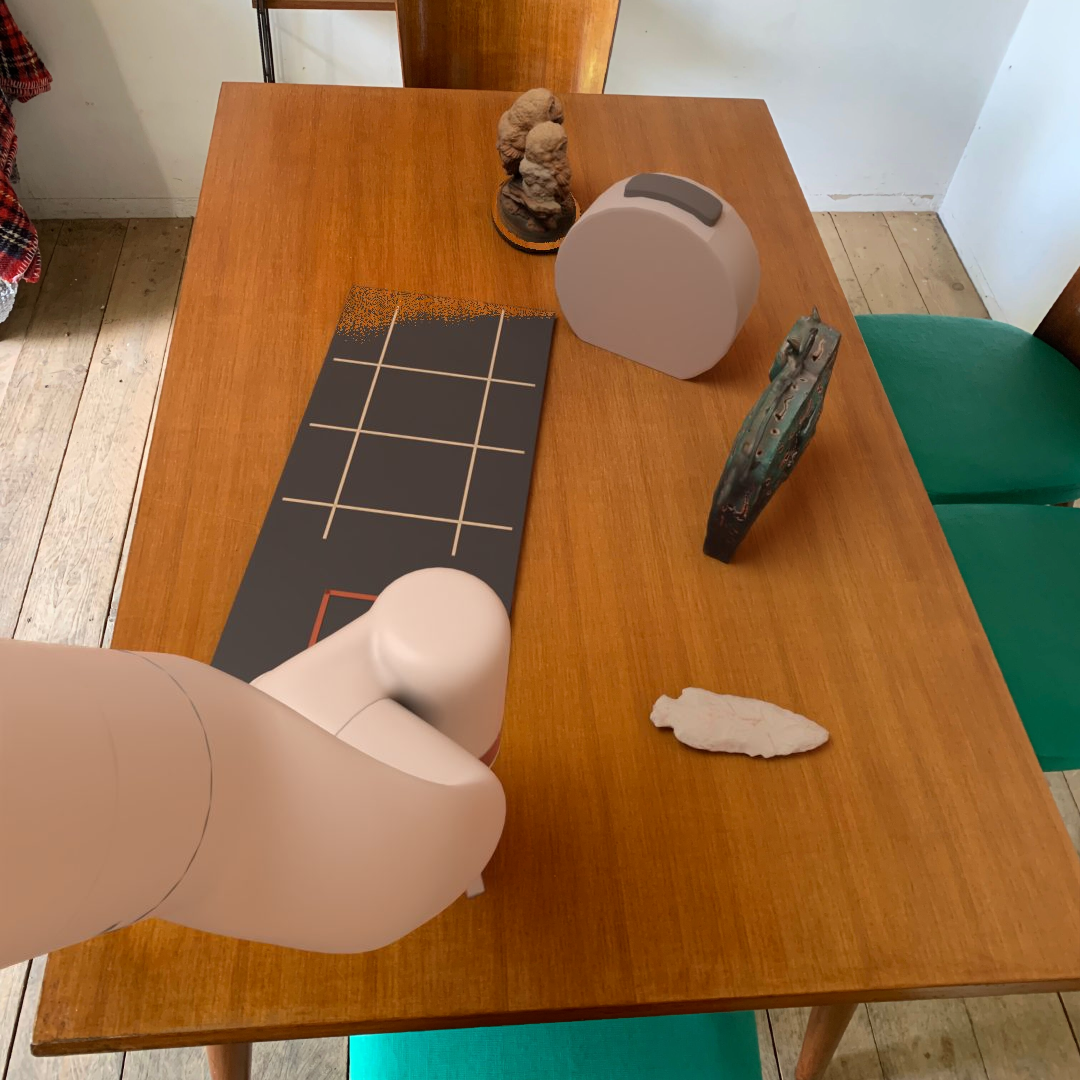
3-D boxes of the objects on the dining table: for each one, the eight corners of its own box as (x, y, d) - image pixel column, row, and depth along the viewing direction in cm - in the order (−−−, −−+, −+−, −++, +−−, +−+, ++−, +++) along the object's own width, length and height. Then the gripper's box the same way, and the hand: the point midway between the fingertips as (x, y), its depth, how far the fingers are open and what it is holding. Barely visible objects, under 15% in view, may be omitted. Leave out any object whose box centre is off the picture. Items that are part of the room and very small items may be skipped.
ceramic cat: (753, 426, 100) (810, 271, 84) (809, 449, 98) (879, 297, 82) (682, 550, 88) (733, 400, 73) (745, 579, 87) (811, 432, 71)
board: (488, 760, 74) (488, 754, 73) (193, 721, 74) (190, 715, 73) (554, 318, 108) (555, 310, 107) (353, 291, 108) (352, 284, 107)
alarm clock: (739, 355, 107) (788, 202, 91) (716, 393, 102) (765, 239, 87) (575, 292, 111) (595, 136, 96) (547, 326, 107) (563, 169, 91)
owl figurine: (591, 260, 115) (610, 130, 102) (498, 262, 114) (505, 130, 100) (570, 180, 126) (584, 53, 113) (484, 181, 125) (488, 51, 111)
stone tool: (647, 750, 76) (829, 769, 75) (650, 738, 74) (836, 757, 74) (648, 690, 80) (822, 708, 79) (651, 677, 78) (829, 695, 77)
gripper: (342, 629, 59) (363, 749, 73) (423, 882, 50) (429, 963, 64) (453, 597, 61) (453, 720, 75) (550, 835, 52) (528, 923, 66)
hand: (442, 831), depth 70 cm, fingers closed on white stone, 5 cm apart
